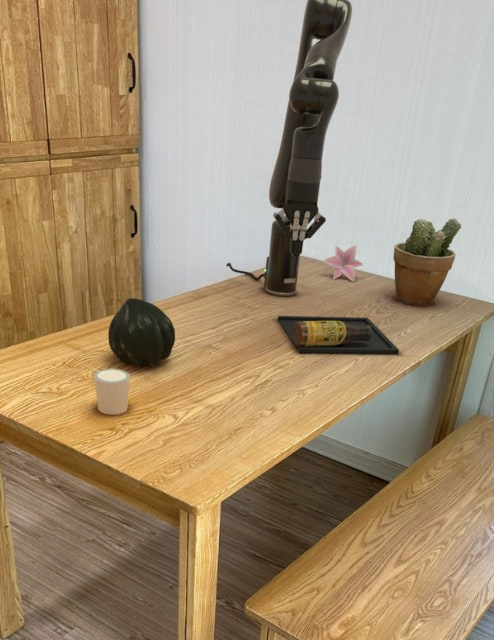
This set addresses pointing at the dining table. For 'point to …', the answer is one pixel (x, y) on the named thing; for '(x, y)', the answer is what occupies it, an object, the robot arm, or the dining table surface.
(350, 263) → the lily
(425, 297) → the potted plant
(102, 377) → the white cup
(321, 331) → the sauce bottle
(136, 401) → the dining table surface
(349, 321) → the tray
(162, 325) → the squash
